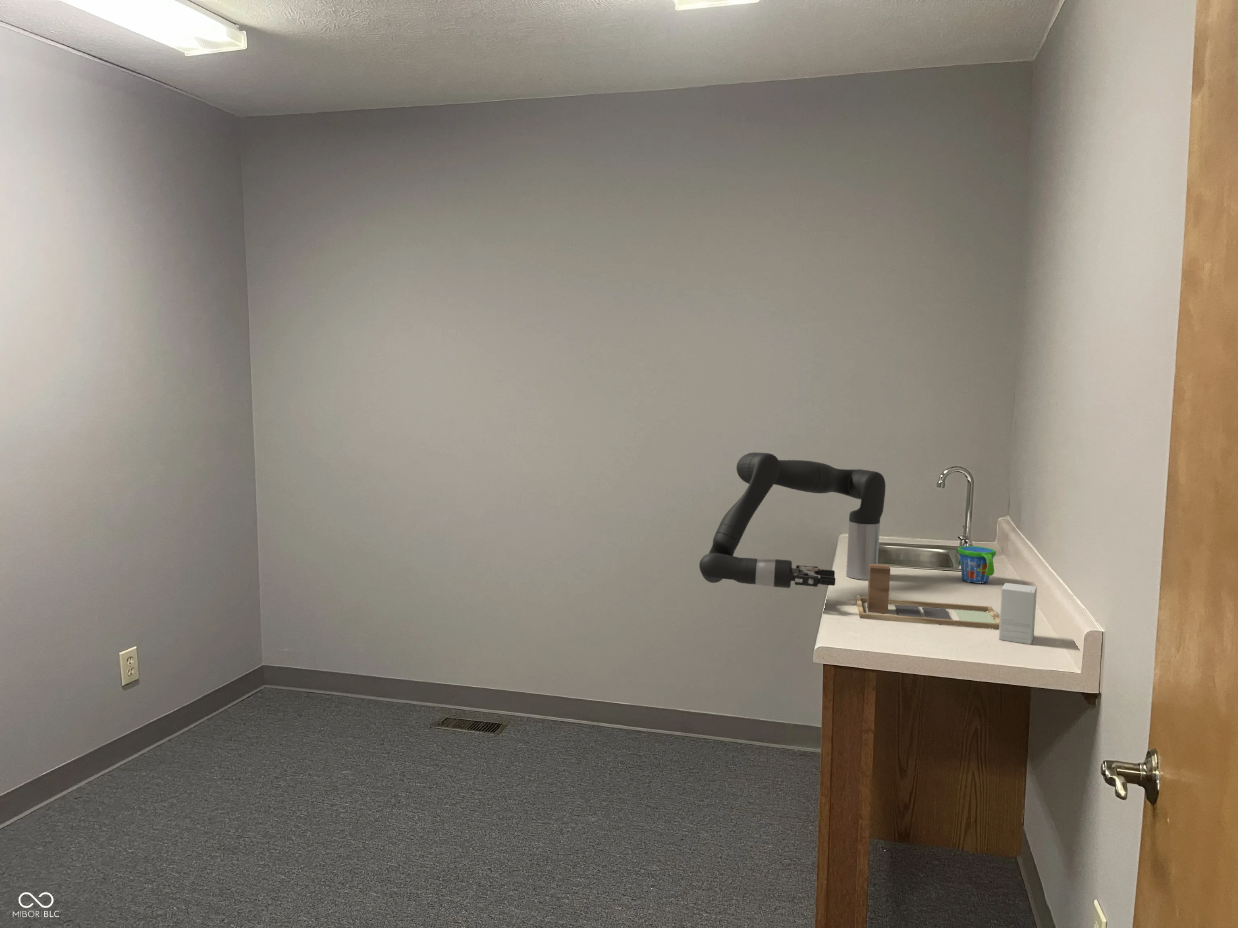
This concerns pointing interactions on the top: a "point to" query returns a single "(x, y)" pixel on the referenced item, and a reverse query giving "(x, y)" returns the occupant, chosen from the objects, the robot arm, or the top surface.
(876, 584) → the walnut block
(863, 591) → the top surface
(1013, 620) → the supplement box
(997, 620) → the tray
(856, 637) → the top surface
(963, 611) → the pad
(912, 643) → the top surface
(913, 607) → the trap squares
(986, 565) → the snack cup
